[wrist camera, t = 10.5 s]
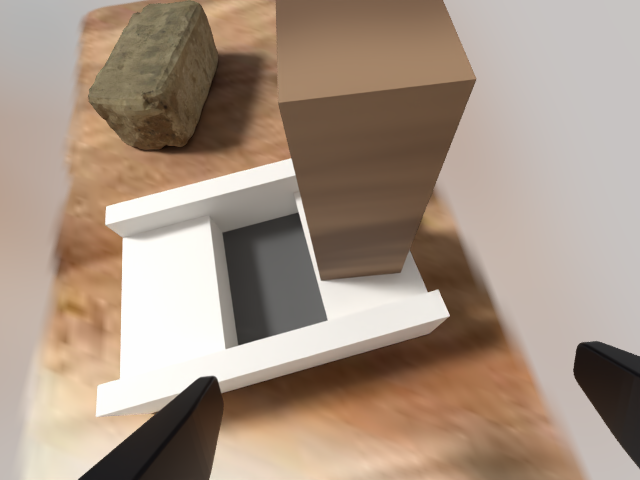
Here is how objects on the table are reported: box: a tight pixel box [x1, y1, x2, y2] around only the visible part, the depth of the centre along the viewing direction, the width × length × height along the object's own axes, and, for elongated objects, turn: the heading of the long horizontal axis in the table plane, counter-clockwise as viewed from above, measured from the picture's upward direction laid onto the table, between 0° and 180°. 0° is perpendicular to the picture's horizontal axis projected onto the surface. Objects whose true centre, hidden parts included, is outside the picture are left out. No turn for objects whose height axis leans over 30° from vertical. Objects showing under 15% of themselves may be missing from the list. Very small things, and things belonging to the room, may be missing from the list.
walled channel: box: [96, 159, 450, 417], centre depth 18 cm, size 10×15×4 cm
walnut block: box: [276, 0, 476, 281], centre depth 12 cm, size 4×4×11 cm
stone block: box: [88, 0, 218, 150], centre depth 25 cm, size 6×12×5 cm, turn 176°
